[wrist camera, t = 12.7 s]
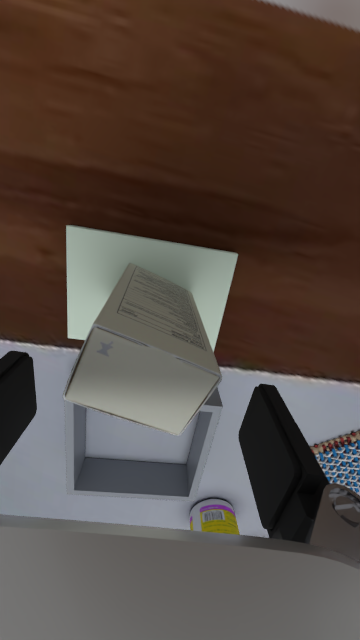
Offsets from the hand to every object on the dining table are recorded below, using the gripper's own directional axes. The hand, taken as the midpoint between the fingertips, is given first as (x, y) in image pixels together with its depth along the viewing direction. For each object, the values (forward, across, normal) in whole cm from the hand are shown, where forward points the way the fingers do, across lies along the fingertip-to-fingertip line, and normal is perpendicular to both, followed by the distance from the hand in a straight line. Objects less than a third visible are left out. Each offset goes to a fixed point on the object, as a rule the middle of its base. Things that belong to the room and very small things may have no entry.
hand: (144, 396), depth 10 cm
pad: (+14, +1, 0) cm, 14 cm away
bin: (+14, 0, +16) cm, 21 cm away
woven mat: (+15, -27, +20) cm, 37 cm away
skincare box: (+13, +1, 0) cm, 13 cm away
